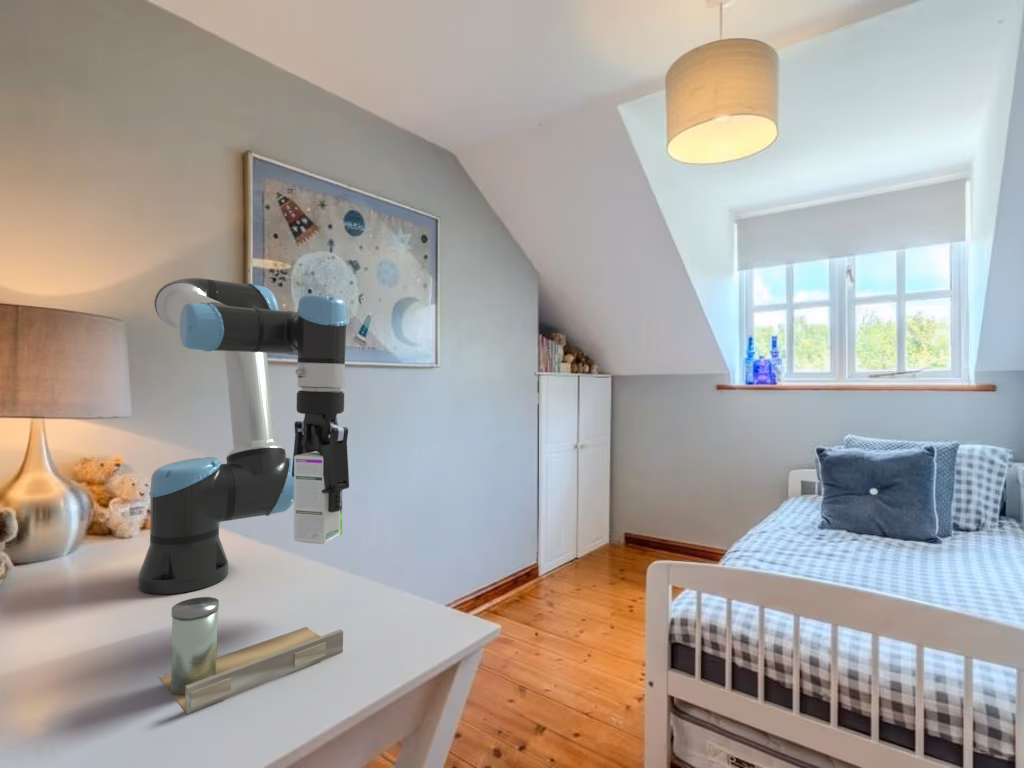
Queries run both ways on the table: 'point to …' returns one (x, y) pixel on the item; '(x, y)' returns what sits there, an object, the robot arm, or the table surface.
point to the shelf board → (258, 666)
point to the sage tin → (193, 642)
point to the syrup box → (310, 500)
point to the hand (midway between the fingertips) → (318, 525)
